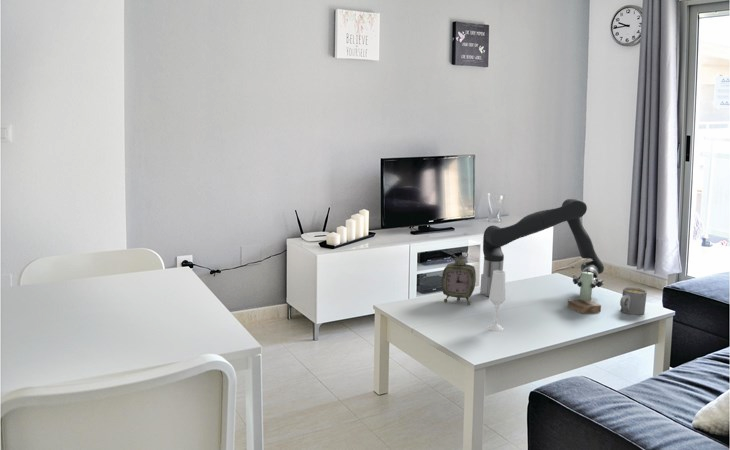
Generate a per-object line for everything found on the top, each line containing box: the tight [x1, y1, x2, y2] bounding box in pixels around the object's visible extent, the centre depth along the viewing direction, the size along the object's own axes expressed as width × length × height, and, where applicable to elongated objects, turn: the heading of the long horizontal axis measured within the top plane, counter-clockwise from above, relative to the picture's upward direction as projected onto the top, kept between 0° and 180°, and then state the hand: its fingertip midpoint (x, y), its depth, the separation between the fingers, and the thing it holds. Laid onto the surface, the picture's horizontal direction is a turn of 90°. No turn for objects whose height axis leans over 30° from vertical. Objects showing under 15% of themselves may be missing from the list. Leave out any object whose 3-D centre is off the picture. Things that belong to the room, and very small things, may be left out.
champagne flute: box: [486, 270, 507, 332], centre depth 271 cm, size 7×7×24 cm
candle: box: [579, 271, 593, 301], centre depth 299 cm, size 5×5×13 cm
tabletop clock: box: [441, 248, 477, 306], centre depth 305 cm, size 14×9×25 cm, turn 73°
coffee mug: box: [619, 286, 648, 316], centre depth 299 cm, size 13×10×10 cm
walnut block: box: [567, 298, 602, 315], centre depth 301 cm, size 10×10×3 cm
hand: (586, 285), depth 297 cm, fingers closed on candle, 5 cm apart
